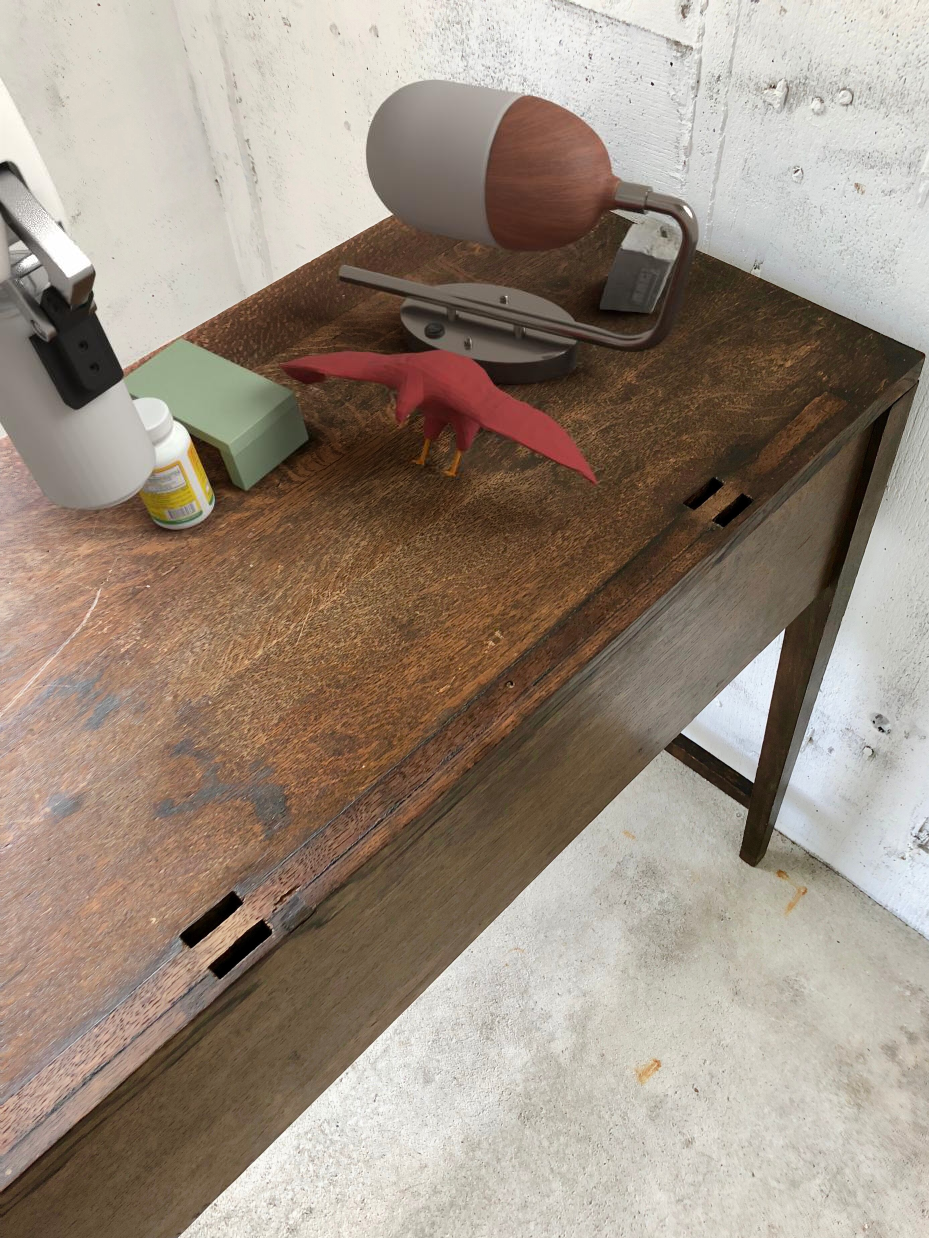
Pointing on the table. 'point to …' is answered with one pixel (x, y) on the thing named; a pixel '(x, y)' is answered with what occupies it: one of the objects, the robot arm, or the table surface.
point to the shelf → (224, 408)
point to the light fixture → (503, 220)
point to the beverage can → (67, 422)
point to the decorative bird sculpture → (448, 400)
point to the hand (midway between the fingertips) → (51, 364)
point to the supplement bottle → (173, 471)
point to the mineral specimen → (641, 266)
